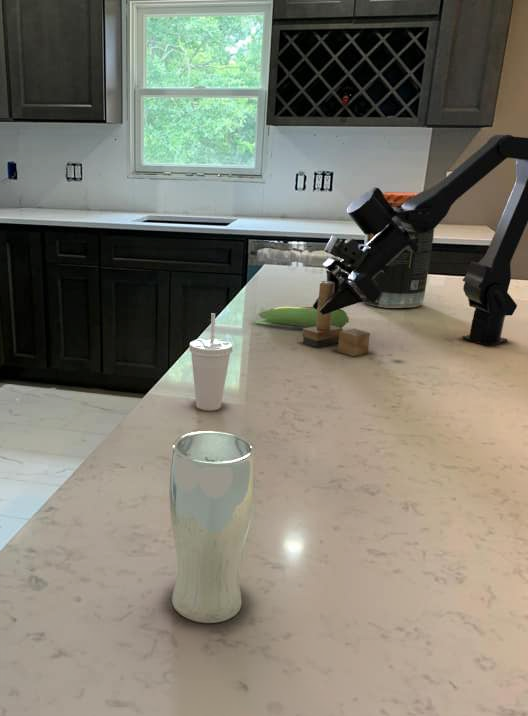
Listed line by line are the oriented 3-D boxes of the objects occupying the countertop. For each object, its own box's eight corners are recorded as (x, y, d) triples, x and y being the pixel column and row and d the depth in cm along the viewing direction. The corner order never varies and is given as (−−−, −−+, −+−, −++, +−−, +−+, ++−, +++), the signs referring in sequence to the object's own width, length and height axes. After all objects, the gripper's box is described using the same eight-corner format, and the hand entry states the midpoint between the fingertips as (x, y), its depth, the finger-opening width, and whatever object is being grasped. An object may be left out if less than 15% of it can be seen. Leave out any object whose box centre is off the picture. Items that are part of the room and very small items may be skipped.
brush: (325, 338, 149) (332, 279, 144) (340, 342, 146) (347, 282, 141) (301, 343, 145) (307, 282, 140) (316, 347, 142) (322, 285, 137)
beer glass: (164, 581, 67) (166, 430, 61) (238, 579, 68) (248, 429, 62) (170, 628, 61) (174, 465, 55) (253, 625, 61) (265, 463, 55)
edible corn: (346, 334, 152) (348, 313, 150) (251, 326, 157) (252, 305, 155) (347, 329, 156) (350, 307, 155) (255, 321, 161) (256, 300, 160)
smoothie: (234, 402, 112) (239, 311, 107) (223, 416, 107) (228, 321, 101) (194, 396, 114) (197, 308, 109) (181, 410, 109) (184, 317, 103)
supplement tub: (430, 301, 184) (447, 193, 173) (412, 313, 172) (430, 197, 161) (368, 294, 191) (381, 189, 181) (348, 304, 179) (361, 193, 169)
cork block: (351, 348, 142) (353, 328, 140) (367, 353, 139) (370, 332, 138) (337, 351, 140) (339, 331, 138) (353, 356, 137) (356, 335, 135)
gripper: (337, 216, 145) (279, 272, 148) (372, 227, 128) (305, 290, 131) (370, 256, 149) (313, 310, 152) (409, 272, 132) (343, 333, 135)
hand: (317, 310), depth 143 cm, fingers open, 4 cm apart
